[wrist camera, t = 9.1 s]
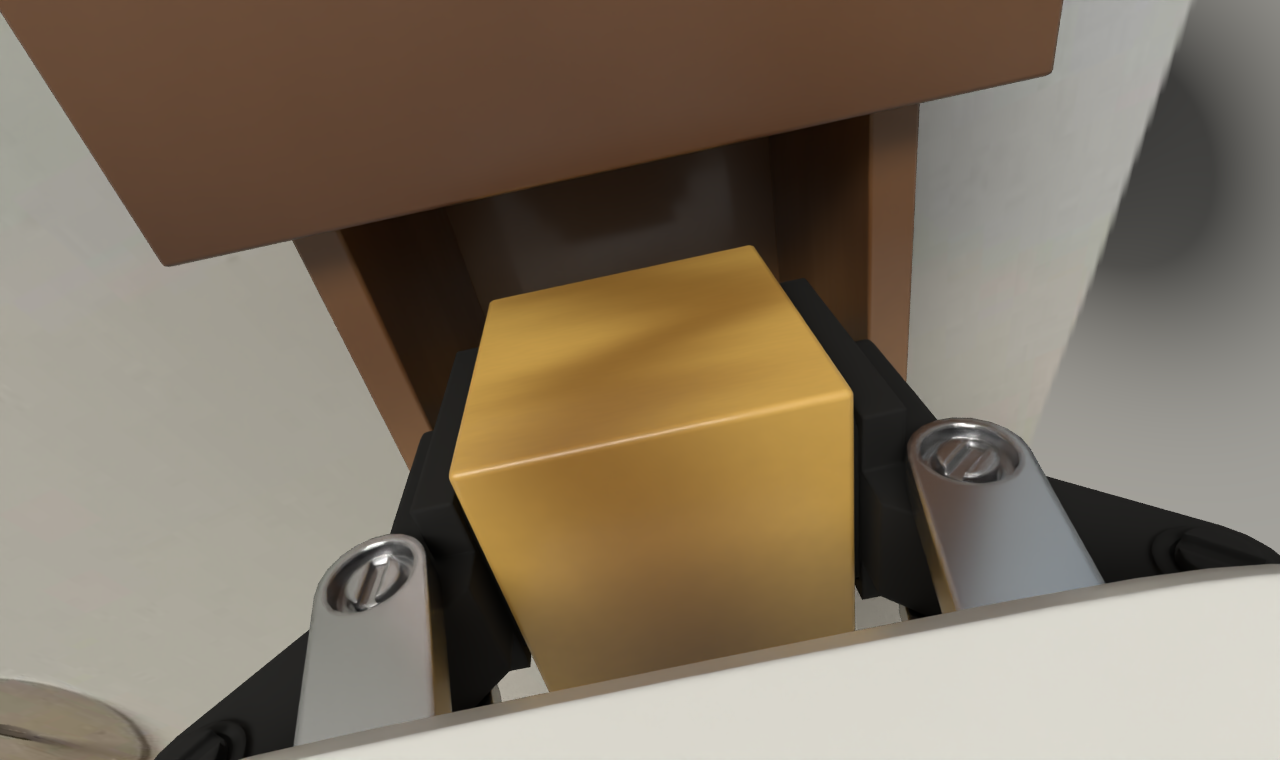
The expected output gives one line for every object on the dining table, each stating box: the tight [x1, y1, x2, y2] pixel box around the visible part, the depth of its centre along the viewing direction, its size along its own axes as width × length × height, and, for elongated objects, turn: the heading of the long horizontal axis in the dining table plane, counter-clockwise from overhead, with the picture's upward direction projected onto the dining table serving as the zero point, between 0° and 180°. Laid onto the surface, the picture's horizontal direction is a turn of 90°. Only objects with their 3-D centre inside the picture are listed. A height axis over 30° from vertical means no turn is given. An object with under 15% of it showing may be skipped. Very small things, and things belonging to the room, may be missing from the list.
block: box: [449, 245, 855, 692], centre depth 10 cm, size 4×4×4 cm
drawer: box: [292, 103, 920, 470], centre depth 16 cm, size 18×11×8 cm, turn 11°
